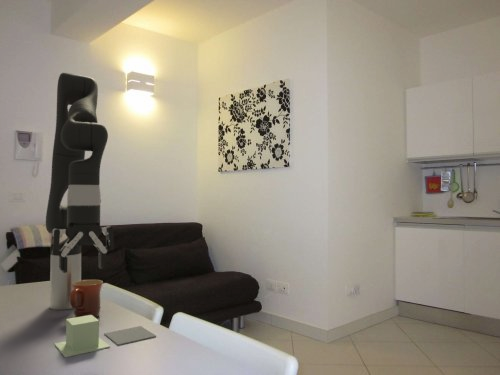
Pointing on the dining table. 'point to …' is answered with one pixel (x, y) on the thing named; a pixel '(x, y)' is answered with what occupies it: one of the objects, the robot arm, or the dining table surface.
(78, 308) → the mug
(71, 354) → the sage pad
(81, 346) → the pale green cube
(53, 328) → the dining table surface
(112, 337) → the grey pad
